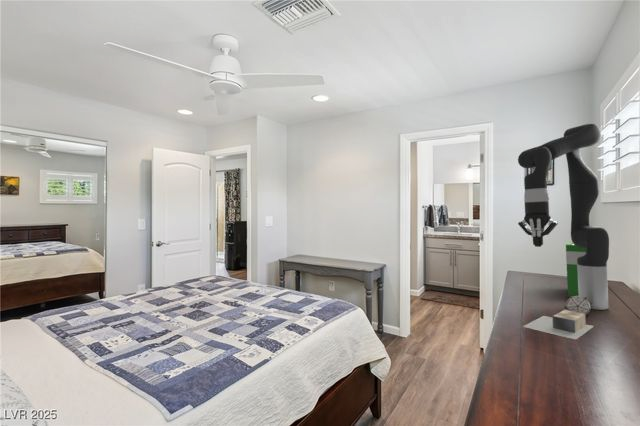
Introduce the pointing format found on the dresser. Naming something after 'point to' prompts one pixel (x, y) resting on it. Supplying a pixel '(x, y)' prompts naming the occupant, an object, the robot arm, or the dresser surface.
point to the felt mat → (547, 326)
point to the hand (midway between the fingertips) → (538, 246)
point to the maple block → (569, 321)
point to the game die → (578, 304)
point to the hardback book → (573, 267)
